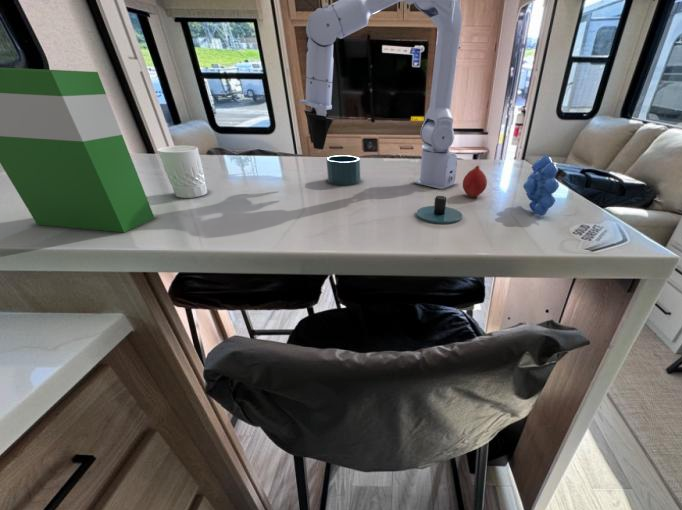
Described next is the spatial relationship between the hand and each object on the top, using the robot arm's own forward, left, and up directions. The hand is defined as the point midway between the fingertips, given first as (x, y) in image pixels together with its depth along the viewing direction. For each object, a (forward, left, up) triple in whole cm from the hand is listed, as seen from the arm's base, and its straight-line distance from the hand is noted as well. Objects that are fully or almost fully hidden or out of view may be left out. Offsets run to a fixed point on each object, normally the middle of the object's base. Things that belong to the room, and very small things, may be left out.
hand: (316, 145), depth 82 cm
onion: (-34, -20, -10) cm, 41 cm away
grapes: (-49, -20, -10) cm, 54 cm away
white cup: (+18, +24, -10) cm, 32 cm away
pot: (0, -9, -10) cm, 14 cm away
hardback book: (+13, +44, -10) cm, 47 cm away
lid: (-35, -2, -10) cm, 36 cm away
